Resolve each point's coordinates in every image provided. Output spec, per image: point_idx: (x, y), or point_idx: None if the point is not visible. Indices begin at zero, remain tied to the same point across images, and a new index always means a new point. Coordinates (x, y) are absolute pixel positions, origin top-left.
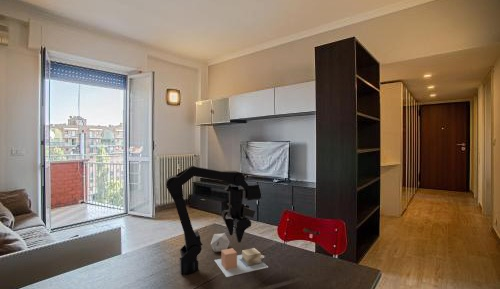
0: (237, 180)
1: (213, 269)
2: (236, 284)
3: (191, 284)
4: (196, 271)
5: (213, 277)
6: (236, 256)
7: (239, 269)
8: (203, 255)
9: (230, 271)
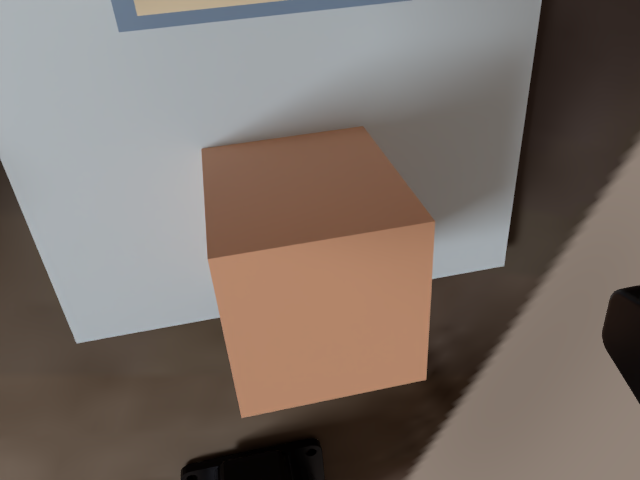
0: None
1: None
2: (608, 186)
3: (421, 459)
4: (290, 464)
5: None
6: (409, 196)
7: (428, 111)
8: None
9: None
